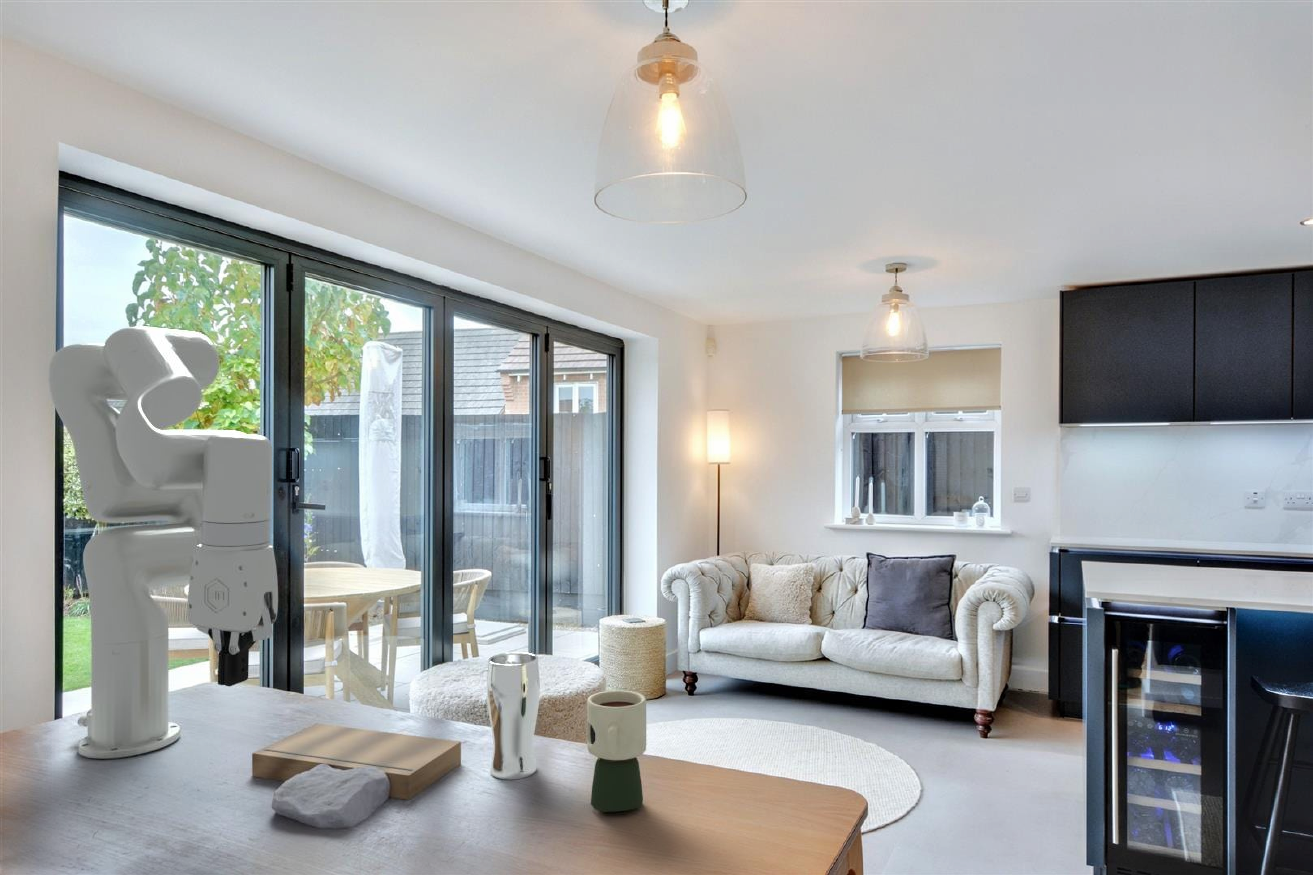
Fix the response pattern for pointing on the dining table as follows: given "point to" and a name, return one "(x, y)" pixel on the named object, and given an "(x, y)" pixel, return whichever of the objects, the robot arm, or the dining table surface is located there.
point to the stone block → (332, 796)
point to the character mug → (616, 748)
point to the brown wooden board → (361, 756)
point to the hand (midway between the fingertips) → (233, 682)
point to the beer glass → (513, 713)
